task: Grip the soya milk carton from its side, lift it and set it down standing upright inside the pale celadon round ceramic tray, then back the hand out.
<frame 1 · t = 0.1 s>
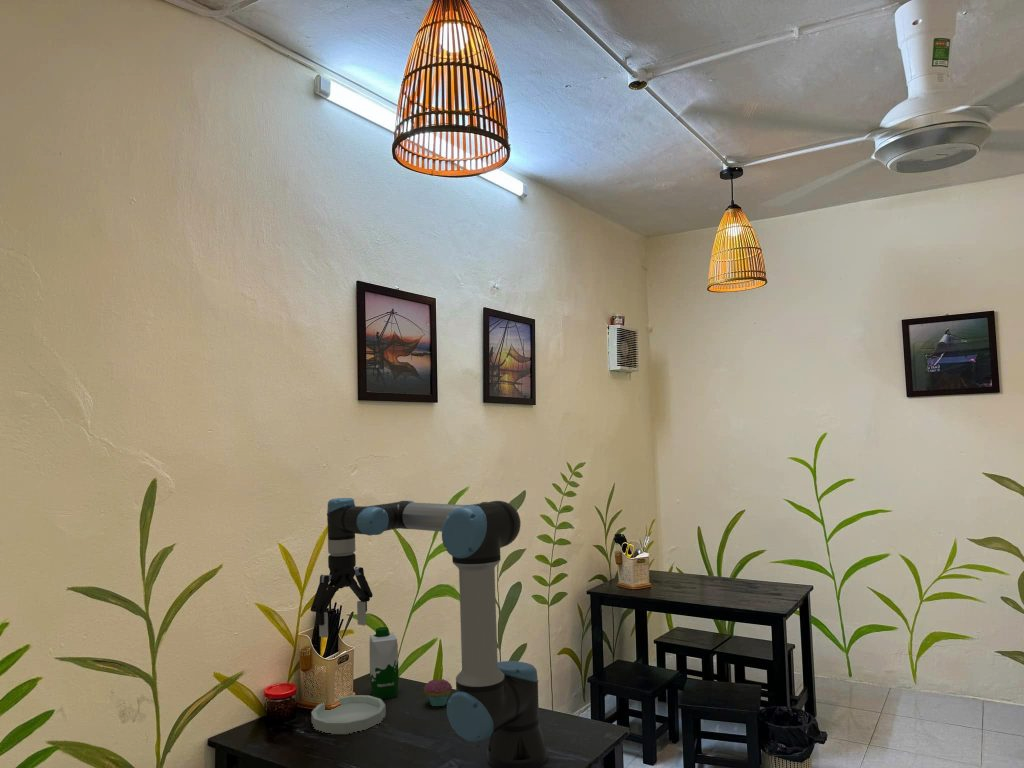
hand: (343, 630, 198), 28 cm above the table, tool pointing down, fingers open, 13 cm apart
round tray: (348, 719, 206), on the table
soya milk: (384, 695, 225), on the table
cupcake: (438, 704, 215), on the table
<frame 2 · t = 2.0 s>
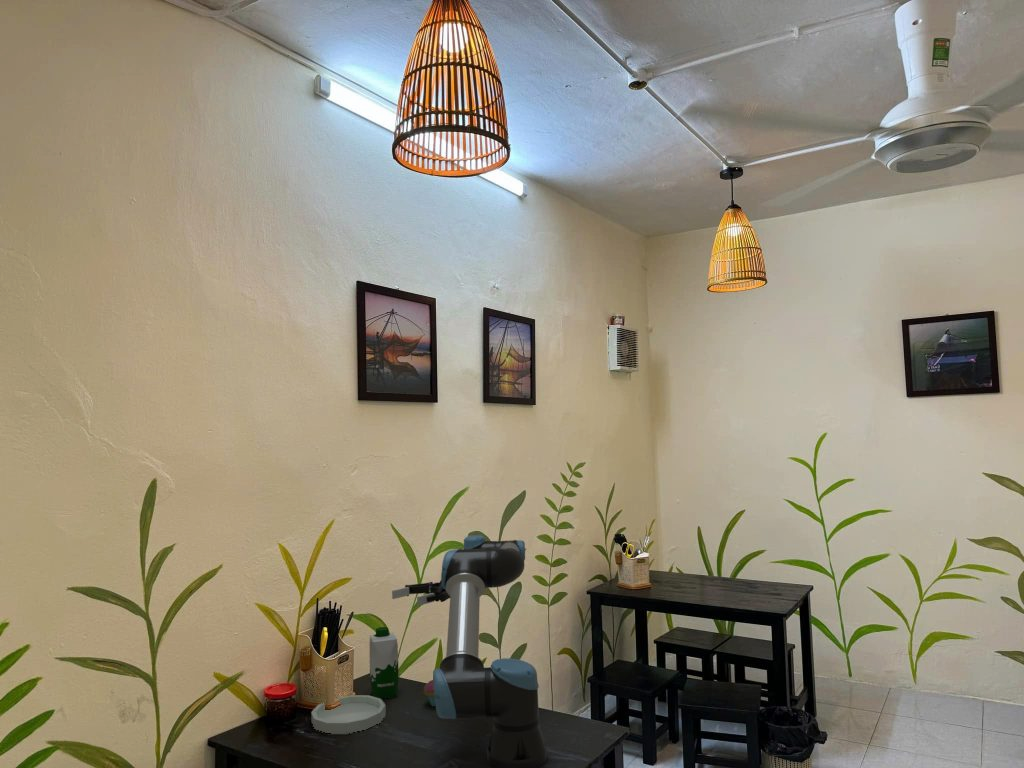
hand: (404, 598, 232), 29 cm above the table, tool horizontal, fingers open, 13 cm apart
nothing on the table moved.
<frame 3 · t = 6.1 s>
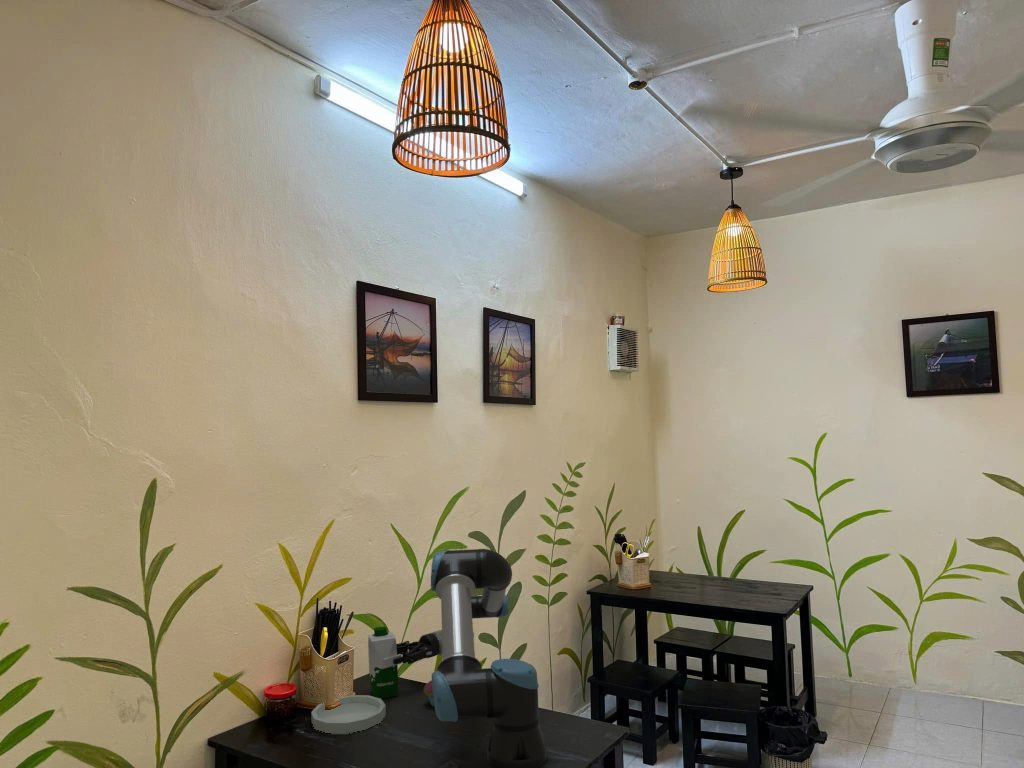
hand: (376, 661, 223), 11 cm above the table, tool horizontal, fingers closed on soya milk, 7 cm apart
soya milk: (384, 694, 225), on the table, touching gripper
everything else where it was.
when the fingers open (13 cm above the table, at t = 10.4 s): soya milk moves 4 cm, resting on round tray.
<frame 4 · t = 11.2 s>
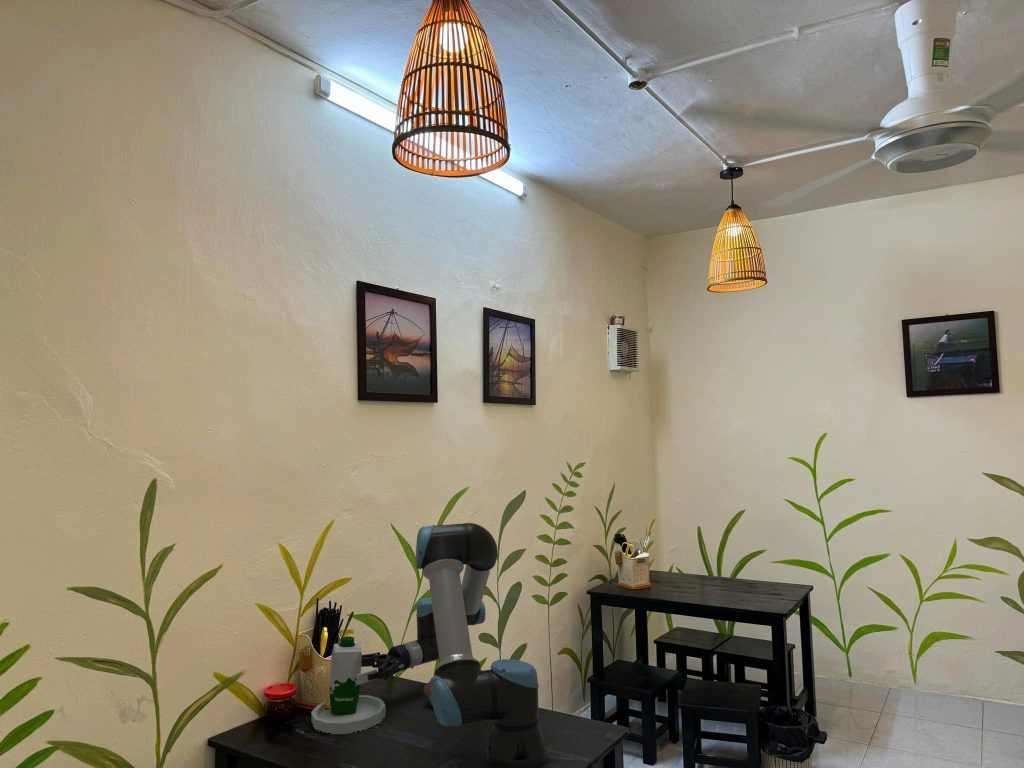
hand: (344, 674, 206), 13 cm above the table, tool horizontal, fingers open, 13 cm apart
soya milk: (342, 710, 210), point 1 cm above the table, touching gripper, round tray
everything else where it was.
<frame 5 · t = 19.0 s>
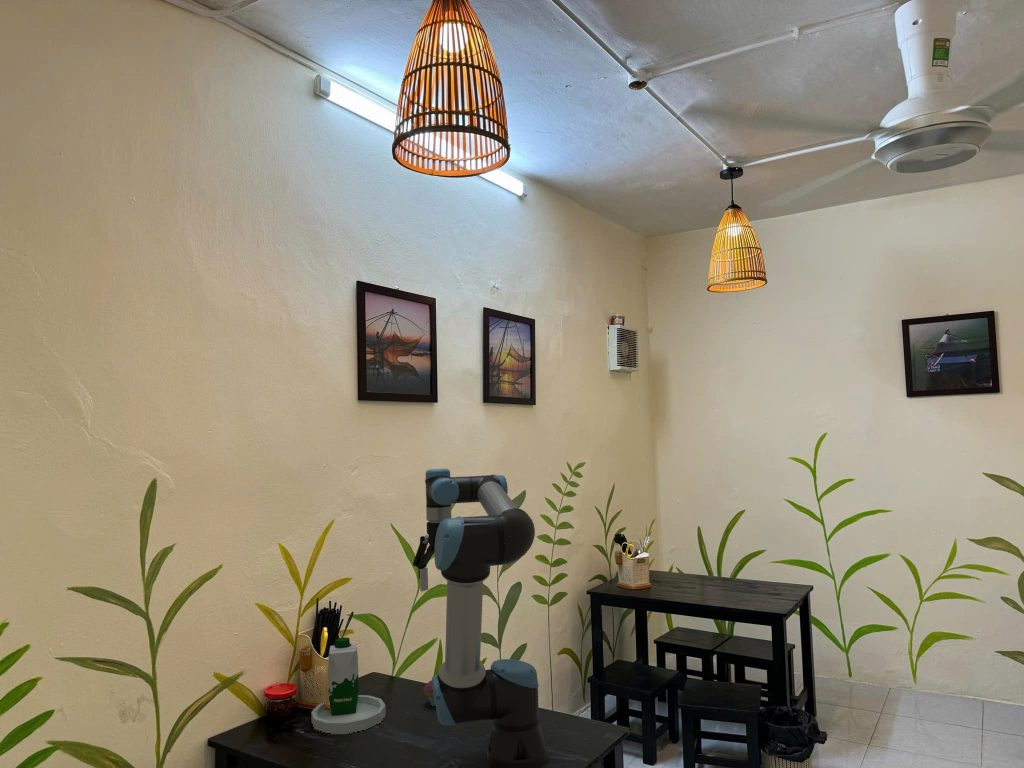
hand: (441, 593, 211), 35 cm above the table, tool pointing down, fingers open, 13 cm apart
soya milk: (343, 710, 210), point 1 cm above the table, touching round tray
everything else where it was.
at the end: soya milk inside the target area on the round tray (4.3 cm from its centre), point 1.0 cm above the round tray's base; soya milk tilted 0°; the gripper is holding nothing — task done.
